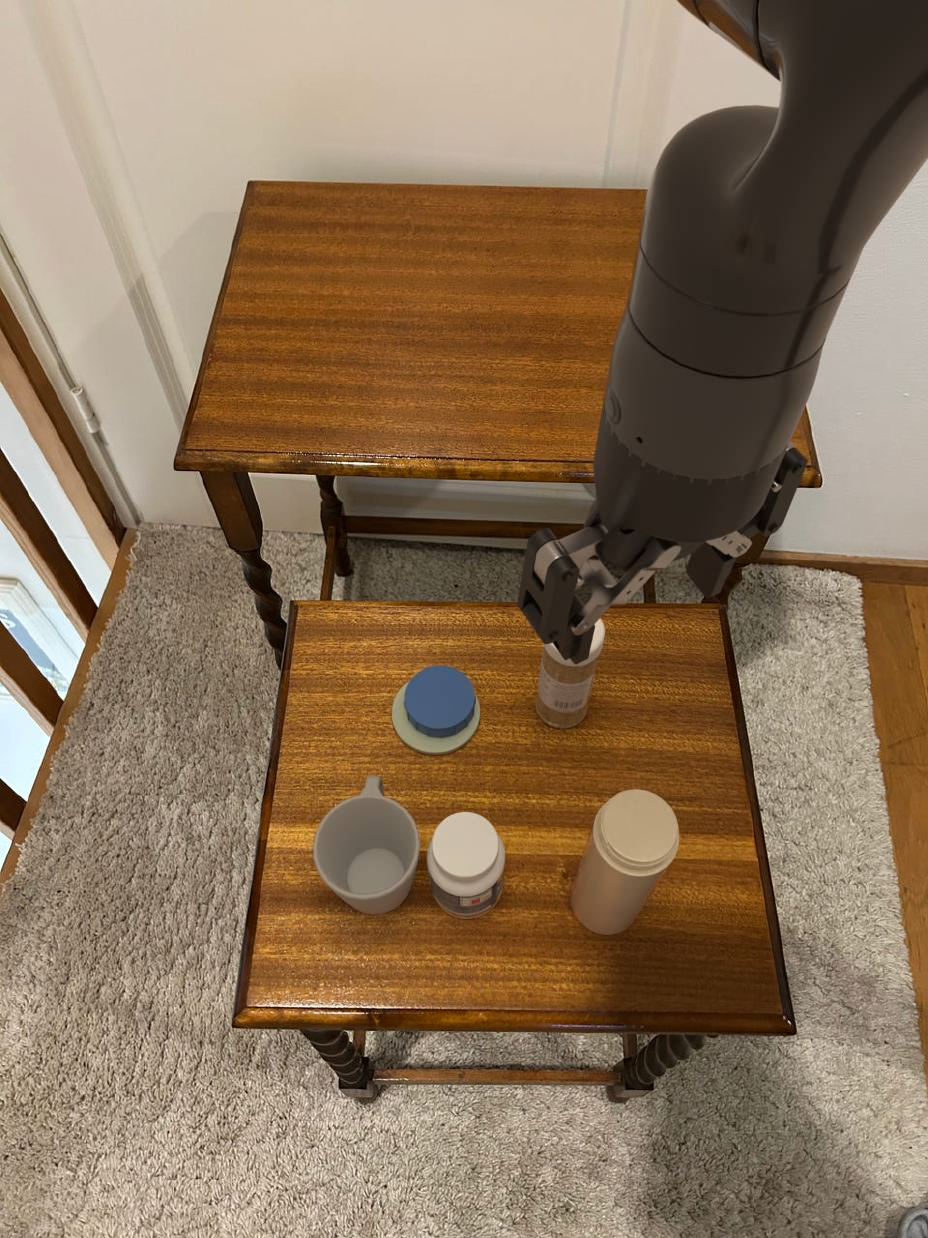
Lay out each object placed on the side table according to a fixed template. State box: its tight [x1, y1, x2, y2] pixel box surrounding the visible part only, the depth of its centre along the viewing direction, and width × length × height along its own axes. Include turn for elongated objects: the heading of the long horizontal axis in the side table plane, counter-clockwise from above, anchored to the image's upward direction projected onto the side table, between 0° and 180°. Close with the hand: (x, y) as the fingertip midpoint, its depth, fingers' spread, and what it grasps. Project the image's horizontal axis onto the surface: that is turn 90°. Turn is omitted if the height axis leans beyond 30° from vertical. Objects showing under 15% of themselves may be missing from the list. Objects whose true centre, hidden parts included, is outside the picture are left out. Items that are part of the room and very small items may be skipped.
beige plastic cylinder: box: [569, 788, 680, 936], centre depth 65 cm, size 5×5×18 cm
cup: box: [312, 775, 421, 916], centre depth 70 cm, size 8×10×8 cm
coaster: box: [391, 681, 481, 756], centre depth 80 cm, size 8×8×1 cm
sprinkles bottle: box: [534, 617, 606, 730], centre depth 75 cm, size 5×5×13 cm
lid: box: [404, 665, 477, 738], centre depth 79 cm, size 6×6×2 cm
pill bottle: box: [426, 811, 506, 920], centre depth 69 cm, size 6×6×10 cm
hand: (637, 615), depth 51 cm, fingers open, 8 cm apart
